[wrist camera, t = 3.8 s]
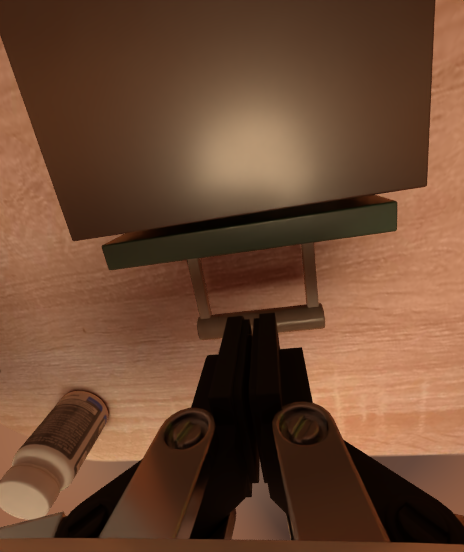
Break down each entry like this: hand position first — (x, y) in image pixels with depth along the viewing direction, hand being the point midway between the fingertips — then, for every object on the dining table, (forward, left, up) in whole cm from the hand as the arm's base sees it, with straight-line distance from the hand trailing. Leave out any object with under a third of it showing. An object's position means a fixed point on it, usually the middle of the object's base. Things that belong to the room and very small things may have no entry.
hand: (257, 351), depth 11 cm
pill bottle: (-18, -13, -12) cm, 25 cm away
